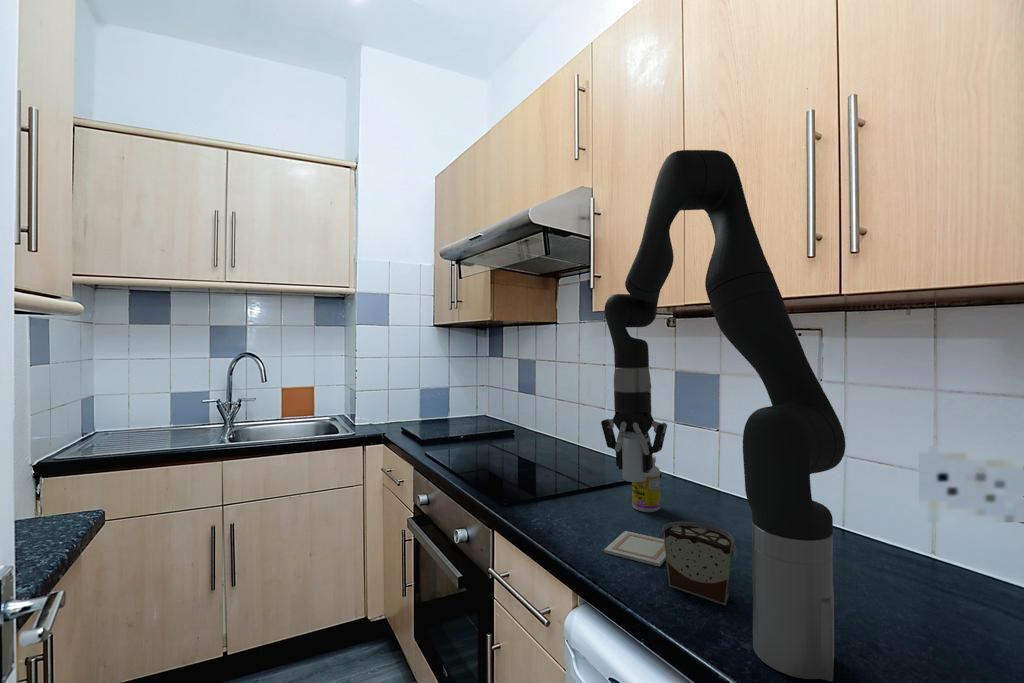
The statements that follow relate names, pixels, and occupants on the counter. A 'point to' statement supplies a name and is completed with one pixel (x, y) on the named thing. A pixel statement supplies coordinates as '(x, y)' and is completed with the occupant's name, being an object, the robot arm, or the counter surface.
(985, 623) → the counter surface
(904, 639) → the counter surface
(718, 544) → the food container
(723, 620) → the counter surface
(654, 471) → the supplement bottle
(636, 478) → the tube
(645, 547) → the card
